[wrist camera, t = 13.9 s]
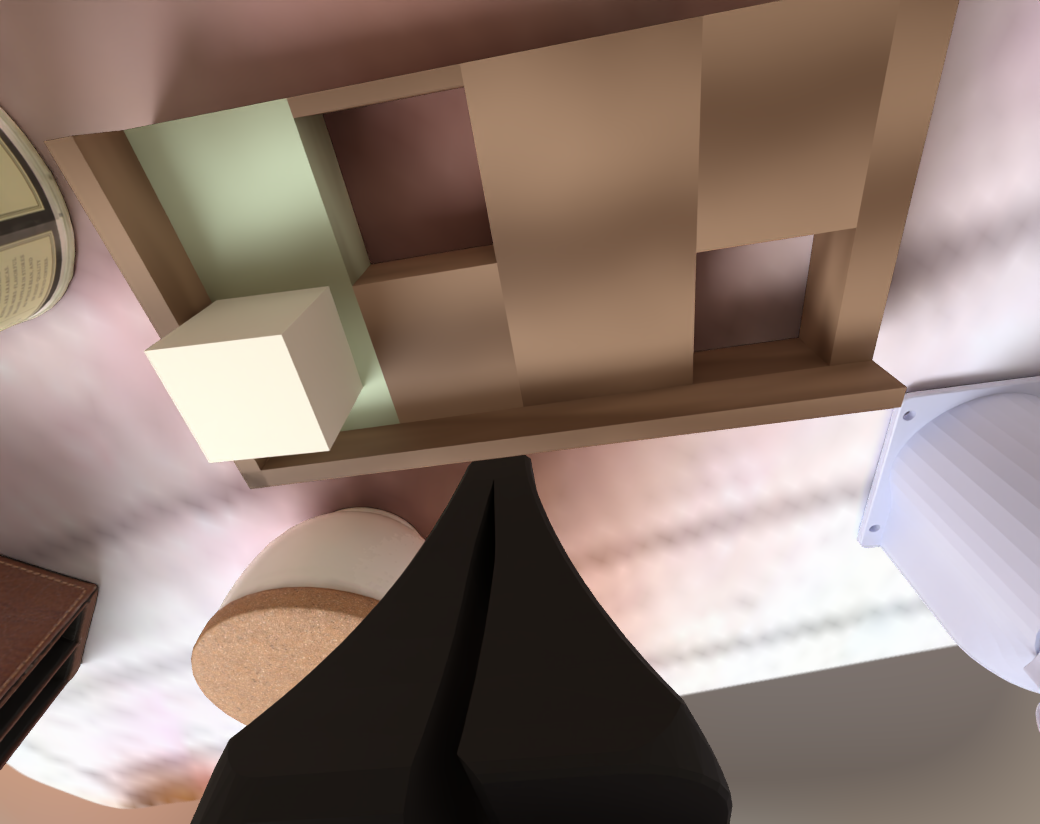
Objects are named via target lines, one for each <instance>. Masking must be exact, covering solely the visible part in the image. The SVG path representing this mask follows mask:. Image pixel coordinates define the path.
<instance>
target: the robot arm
mask: <svg viewBox="0 0 1040 824" xmlns="http://www.w3.org/2000/svg"><path fill="white" fill-rule="evenodd" d="M908 411H909V413H907V412H908ZM905 413H907V414H906V415H904V414H905ZM857 541H858V542H859V544H860V545H861V546H862V547H864V548H871V547H881V548H882V549H883V551H884V552H885V553H886V554H887V556H888V557H889V558H890V559H891V561H892V562H893V563H894V565H895V566H896V567H897V568H898V570H899V571H900V572H901V574H902V575H903V576H904V577H905V579H906V580H907V581H908V583H909V584H910V585H911V586H912V588H913V589H914V590H915V592H916V593H917V594H918V595H919V597H920V598H921V599H922V601H923V602H924V603H925V604H926V606H927V607H928V608H929V610H930V611H931V612H932V613H933V615H934V616H935V617H936V619H937V620H938V621H939V622H940V624H941V625H942V626H943V627H944V629H945V630H946V631H947V633H948V634H949V635H950V636H951V638H952V639H953V640H954V641H955V642H956V643H957V644H958V646H959V647H960V648H961V649H963V651H965V652H966V653H967V654H968V655H969V656H970V657H971V658H973V659H974V660H975V661H977V662H978V663H979V664H981V665H982V666H983V667H985V668H986V669H988V670H990V671H991V672H993V673H994V674H996V675H998V676H999V677H1001V678H1003V679H1005V680H1007V681H1008V682H1010V683H1013V684H1015V685H1017V686H1019V687H1022V688H1024V689H1027V690H1030V691H1033V692H1037V693H1040V376H1034V377H1026V378H1019V379H1011V380H1003V381H995V382H987V383H980V384H972V385H964V386H956V387H948V388H940V389H933V390H925V391H917V392H910V393H906V394H905V396H904V399H903V402H902V406H901V407H899V408H894V410H893V413H892V417H891V420H890V424H889V427H888V431H887V434H886V438H885V441H884V445H883V448H882V452H881V455H880V459H879V462H878V466H877V469H876V473H875V476H874V480H873V483H872V487H871V490H870V494H869V497H868V501H867V504H866V508H865V511H864V515H863V519H862V522H861V526H860V529H859V533H858V536H857ZM1036 721H1037V726H1038V729H1039V732H1040V703H1039V704H1038V705H1037V709H1036ZM731 811H732V800H731V794H730V790H729V787H728V784H727V782H726V779H725V777H724V774H723V772H722V770H721V767H720V766H719V763H718V761H717V759H716V757H715V755H714V753H713V751H712V749H711V747H710V745H709V744H708V742H707V740H706V738H705V736H704V734H703V733H702V731H701V729H700V728H699V726H698V724H697V722H696V721H695V719H694V717H693V716H692V714H691V712H690V711H689V709H688V707H687V705H686V704H685V702H684V701H683V699H682V698H681V697H680V696H679V695H678V694H677V693H676V692H675V691H674V690H673V689H672V688H671V687H670V686H669V685H668V684H667V683H666V682H665V681H664V680H663V679H662V677H661V676H660V675H659V674H658V673H657V672H656V671H655V670H654V669H653V668H652V667H651V666H650V664H649V663H648V662H647V661H646V660H645V659H644V658H643V657H642V655H641V654H640V653H639V652H638V651H637V650H636V648H635V647H634V646H633V645H632V644H631V643H630V642H629V640H628V639H627V638H626V637H625V636H624V634H623V633H622V632H621V630H620V629H619V628H618V627H617V625H616V624H615V623H614V622H613V620H612V619H611V618H610V616H609V615H608V614H607V613H606V611H605V610H604V609H603V607H602V606H601V605H600V604H599V602H598V601H597V600H596V598H595V597H594V595H593V594H592V592H591V591H590V589H589V588H588V587H587V585H586V584H585V582H584V581H583V579H582V578H581V576H580V575H579V573H578V571H577V570H576V568H575V567H574V565H573V564H572V562H571V560H570V559H569V557H568V555H567V553H566V552H565V550H564V548H563V546H562V545H561V543H560V541H559V539H558V537H557V535H556V533H555V531H554V529H553V527H552V525H551V523H550V521H549V519H548V517H547V515H546V512H545V510H544V508H543V506H542V503H541V501H540V498H539V496H538V493H537V490H536V484H535V479H534V474H533V469H532V463H531V459H530V458H529V457H527V456H526V455H521V456H513V457H505V458H497V459H489V460H481V461H473V462H472V463H471V464H470V465H469V466H468V468H467V470H466V472H465V474H464V476H463V478H462V480H461V482H460V483H459V485H458V487H457V489H456V491H455V493H454V494H453V496H452V498H451V500H450V502H449V503H448V505H447V507H446V508H445V510H444V512H443V513H442V515H441V517H440V518H439V520H438V522H437V523H436V525H435V527H434V528H433V530H432V531H431V533H430V534H429V536H428V537H427V539H426V540H425V542H424V543H423V545H422V546H421V548H420V549H419V550H418V552H417V553H416V555H415V556H414V558H413V559H412V561H411V562H410V563H409V565H408V566H407V567H406V569H405V570H404V571H403V573H402V574H401V575H400V577H399V578H398V579H397V581H396V582H395V583H394V584H393V586H392V587H391V588H390V589H389V590H388V592H387V593H386V594H385V595H384V597H383V598H382V599H381V600H380V601H379V603H378V604H377V605H376V606H375V607H374V608H373V609H372V610H371V611H370V613H369V614H368V615H367V616H366V617H365V618H364V619H363V620H362V621H361V623H360V624H359V625H358V626H357V627H356V628H355V629H354V630H353V631H352V632H351V633H350V634H349V635H348V636H347V638H346V639H345V640H344V641H343V642H342V643H341V644H340V645H339V646H338V647H336V648H335V649H334V650H333V651H332V652H331V653H330V654H329V655H328V656H327V657H326V658H325V659H324V660H323V661H322V662H321V663H320V664H319V665H318V666H316V667H315V668H314V669H313V670H312V671H311V672H310V673H309V674H308V675H307V676H306V677H304V678H303V679H302V680H301V681H300V682H299V683H298V684H297V685H295V686H294V687H293V688H292V689H291V690H290V691H289V692H287V693H286V694H285V695H284V696H283V697H281V698H280V699H279V700H278V701H277V702H275V703H274V704H273V705H272V706H270V707H269V708H268V709H267V710H265V711H264V712H263V713H262V714H261V715H259V716H258V717H257V718H256V719H254V720H253V721H252V722H251V723H250V724H248V725H247V726H246V727H245V728H243V729H242V730H241V731H240V732H238V733H237V734H236V735H234V736H233V737H232V738H231V739H230V740H229V741H228V743H227V745H226V747H225V749H224V751H223V753H222V755H221V757H220V759H219V761H218V763H217V765H216V767H215V769H214V771H213V773H212V775H211V778H210V780H209V782H208V785H207V787H206V789H205V791H204V794H203V796H202V798H201V801H200V803H199V805H198V808H197V810H196V812H195V814H194V817H193V819H192V821H191V823H190V824H730V817H731Z"/></svg>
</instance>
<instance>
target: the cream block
mask: <svg viewBox="0 0 1040 824" xmlns="http://www.w3.org/2000/svg"><path fill="white" fill-rule="evenodd" d="M144 352H145V354H146V356H147V357H148V359H149V361H150V362H151V364H152V366H153V368H154V369H155V371H156V373H157V374H158V376H159V378H160V380H161V381H162V383H163V385H164V386H165V388H166V390H167V391H168V393H169V395H170V397H171V398H172V400H173V402H174V403H175V405H176V407H177V409H178V410H179V412H180V414H181V415H182V417H183V419H184V421H185V422H186V424H187V426H188V427H189V429H190V431H191V432H192V434H193V436H194V438H195V439H196V441H197V443H198V444H199V446H200V448H201V450H202V451H203V453H204V455H205V456H206V458H207V460H208V461H209V463H215V462H225V461H234V460H244V459H254V458H264V457H274V456H283V455H293V454H303V453H313V452H323V451H330V449H331V447H332V445H333V443H334V442H335V440H336V438H337V436H338V434H339V432H340V430H341V428H342V426H343V424H344V423H345V421H346V419H347V417H348V415H349V413H350V411H351V409H352V407H353V406H354V404H355V402H356V400H357V398H358V396H359V394H360V392H361V390H362V389H363V385H362V383H361V380H360V377H359V374H358V371H357V368H356V365H355V362H354V359H353V356H352V353H351V350H350V347H349V344H348V341H347V338H346V336H345V333H344V330H343V327H342V324H341V321H340V318H339V315H338V312H337V309H336V306H335V303H334V300H333V297H332V294H331V292H330V289H329V286H325V287H317V288H309V289H301V290H293V291H285V292H277V293H269V294H262V295H254V296H246V297H238V298H230V299H222V300H216V301H215V302H213V303H212V304H211V305H209V306H208V307H206V308H205V309H203V310H202V311H201V312H199V313H198V314H196V315H195V316H193V317H192V318H191V319H189V320H188V321H186V322H185V323H183V324H182V325H181V326H179V327H178V328H176V329H175V330H173V331H172V332H171V333H169V334H168V335H166V336H165V337H163V338H162V339H161V340H159V341H158V342H156V343H155V344H153V345H152V346H151V347H149V348H148V349H146V350H145V351H144Z"/></svg>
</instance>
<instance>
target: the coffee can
mask: <svg viewBox="0 0 1040 824" xmlns="http://www.w3.org/2000/svg"><path fill="white" fill-rule="evenodd" d="M74 242H75V240H74V232H73V228H72V224H71V220H70V216H69V212H68V210H67V207H66V204H65V201H64V199H63V197H62V194H61V192H60V190H59V188H58V185H57V183H56V181H55V179H54V177H53V175H52V172H51V171H50V170H49V169H48V167H47V166H46V164H45V163H44V161H43V160H42V158H41V157H40V156H39V154H38V153H37V151H36V150H35V148H34V147H33V145H32V144H31V142H30V141H29V140H28V138H27V137H26V136H25V134H24V133H23V132H22V131H21V130H20V128H19V127H18V126H17V125H16V124H15V122H14V121H13V120H12V119H11V118H10V117H9V116H8V114H7V113H6V112H5V111H4V110H3V109H2V108H1V107H0V331H3V330H5V329H7V328H9V327H11V326H14V325H16V324H19V323H22V322H25V321H28V320H31V319H33V318H36V317H38V316H40V315H41V314H43V313H45V312H46V311H48V310H50V309H51V308H52V307H53V306H54V305H55V304H56V303H57V302H58V301H59V300H60V299H61V297H62V296H63V295H64V293H65V291H66V290H67V287H68V284H69V283H70V281H71V279H72V277H73V267H74V258H75V248H74Z"/></svg>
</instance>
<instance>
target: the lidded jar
mask: <svg viewBox="0 0 1040 824" xmlns="http://www.w3.org/2000/svg"><path fill="white" fill-rule="evenodd" d="M424 542H425V540H424V539H423V538H422V537H421V536H420V534H419V533H418V531H417V530H416V529H415V528H414V527H413V526H412V525H411V524H409V523H408V522H407V521H405V520H404V519H402V518H400V517H399V516H397V515H394V514H392V513H390V512H387V511H384V510H380V509H375V508H368V507H352V508H346V509H342V510H338V511H335V512H333V513H328V514H323V515H320V516H317V517H313V518H310V519H308V520H306V521H304V522H302V523H300V524H298V525H295V526H293V527H291V528H290V529H288V530H287V531H285V532H284V533H283V534H281V535H280V536H278V537H277V538H276V539H274V540H273V541H272V542H270V543H269V544H268V545H267V546H266V547H265V548H264V549H263V550H262V551H261V552H260V553H259V554H258V555H257V557H256V558H255V559H254V560H253V561H252V562H251V563H250V564H249V565H248V567H247V568H246V569H245V570H244V572H243V573H242V574H241V576H240V577H239V578H238V579H237V581H236V582H235V584H234V585H233V587H232V588H231V590H230V591H229V593H228V595H227V596H226V598H225V599H224V601H223V603H222V605H221V606H220V608H219V610H218V611H217V613H216V614H215V615H214V616H213V617H212V618H211V619H210V620H209V621H208V623H207V624H206V626H205V628H204V629H203V631H202V633H201V634H200V636H199V638H198V640H197V642H196V644H195V646H194V647H193V651H192V657H191V662H192V670H193V675H194V677H195V680H196V682H197V684H198V686H199V687H200V689H201V690H202V692H203V693H204V695H205V696H206V697H207V698H208V699H209V700H210V701H211V702H212V703H213V704H215V705H216V706H217V707H218V708H219V709H221V710H222V711H223V712H225V713H226V714H227V715H229V716H231V717H232V718H234V719H236V720H238V721H239V722H241V723H243V724H245V725H248V724H250V723H251V722H252V721H253V720H254V719H256V718H257V717H258V716H259V715H261V714H262V713H263V712H264V711H265V710H267V709H268V708H269V707H270V706H272V705H273V704H274V703H275V702H277V701H278V700H279V699H280V698H281V697H283V696H284V695H285V694H286V693H287V692H289V691H290V690H291V689H292V688H293V687H294V686H295V685H297V684H298V683H299V682H300V681H301V680H302V679H303V678H304V677H306V676H307V675H308V674H309V673H310V672H311V671H312V670H313V669H314V668H315V667H316V666H318V665H319V664H320V663H321V662H322V661H323V660H324V659H325V658H326V657H327V656H328V655H329V654H330V653H331V652H332V651H333V650H334V649H335V648H336V647H338V646H339V645H340V644H341V643H342V642H343V641H344V640H345V639H346V638H347V636H348V635H349V634H350V633H351V632H352V631H353V630H354V629H355V628H356V627H357V626H358V625H359V624H360V623H361V621H362V620H363V619H364V618H365V617H366V616H367V615H368V614H369V613H370V611H371V610H372V609H373V608H374V607H375V606H376V605H377V604H378V603H379V601H380V600H381V599H382V598H383V597H384V595H385V594H386V593H387V592H388V590H389V589H390V588H391V587H392V586H393V584H394V583H395V582H396V581H397V579H398V578H399V577H400V575H401V574H402V573H403V571H404V570H405V569H406V567H407V566H408V565H409V563H410V562H411V561H412V559H413V558H414V556H415V555H416V553H417V552H418V550H419V549H420V548H421V546H422V545H423V543H424Z"/></svg>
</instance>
